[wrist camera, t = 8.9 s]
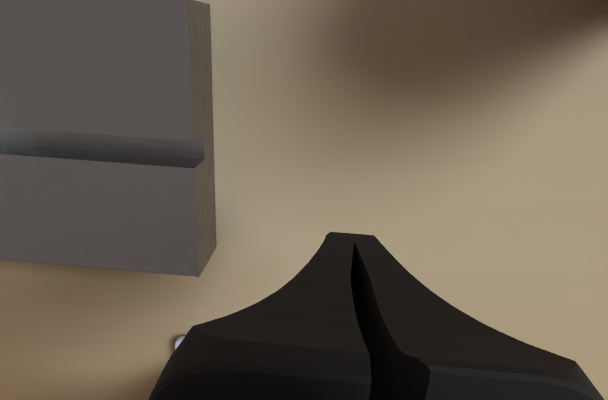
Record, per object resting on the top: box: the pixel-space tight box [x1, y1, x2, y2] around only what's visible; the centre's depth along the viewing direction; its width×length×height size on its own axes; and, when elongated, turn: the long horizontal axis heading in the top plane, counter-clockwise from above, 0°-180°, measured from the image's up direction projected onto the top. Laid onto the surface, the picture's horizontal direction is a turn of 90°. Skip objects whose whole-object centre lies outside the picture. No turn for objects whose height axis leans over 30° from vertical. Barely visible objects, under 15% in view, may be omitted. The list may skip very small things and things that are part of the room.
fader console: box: [0, 0, 216, 277], centre depth 20 cm, size 12×19×3 cm, turn 87°
